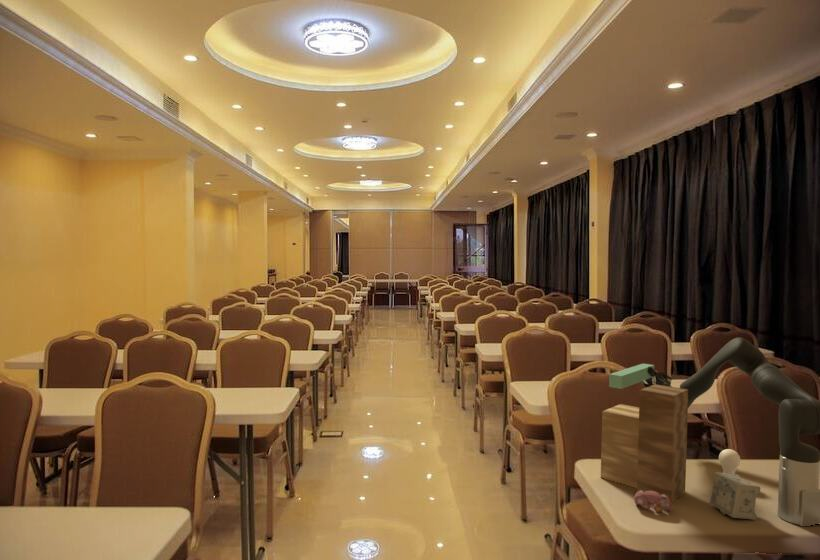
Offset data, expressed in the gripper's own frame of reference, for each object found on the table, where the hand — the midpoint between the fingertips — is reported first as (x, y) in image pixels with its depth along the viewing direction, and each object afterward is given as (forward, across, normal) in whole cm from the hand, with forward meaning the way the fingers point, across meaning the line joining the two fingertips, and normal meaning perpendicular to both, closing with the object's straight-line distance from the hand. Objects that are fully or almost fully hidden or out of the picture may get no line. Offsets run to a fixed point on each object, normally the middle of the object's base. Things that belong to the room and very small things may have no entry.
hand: (642, 368), depth 197 cm
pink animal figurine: (+8, +16, +45) cm, 48 cm away
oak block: (-9, 0, +35) cm, 36 cm away
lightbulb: (-25, +25, +26) cm, 44 cm away
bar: (+5, 0, +7) cm, 8 cm away
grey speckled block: (-4, +33, +38) cm, 50 cm away
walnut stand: (-4, +13, +38) cm, 40 cm away
